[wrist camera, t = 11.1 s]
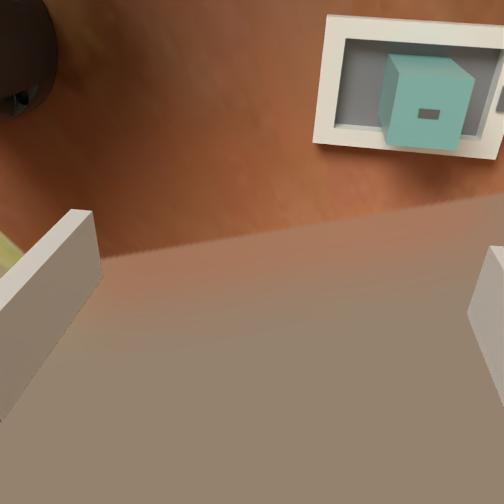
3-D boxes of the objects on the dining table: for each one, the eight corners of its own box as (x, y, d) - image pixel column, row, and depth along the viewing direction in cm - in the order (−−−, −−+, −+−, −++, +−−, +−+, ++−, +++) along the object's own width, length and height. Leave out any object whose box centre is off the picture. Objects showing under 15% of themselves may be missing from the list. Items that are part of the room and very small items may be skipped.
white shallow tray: (313, 136, 45) (312, 143, 44) (327, 14, 40) (326, 16, 38) (490, 152, 44) (496, 160, 42) (529, 27, 38) (538, 30, 36)
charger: (377, 113, 43) (386, 145, 35) (388, 53, 41) (399, 74, 33) (435, 117, 43) (456, 151, 35) (449, 57, 40) (475, 79, 32)
